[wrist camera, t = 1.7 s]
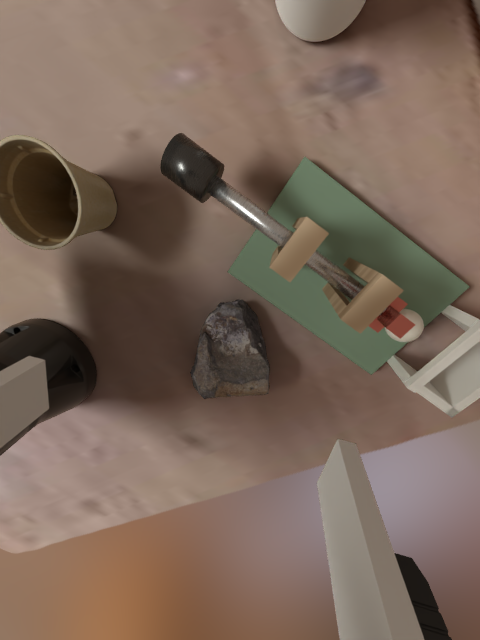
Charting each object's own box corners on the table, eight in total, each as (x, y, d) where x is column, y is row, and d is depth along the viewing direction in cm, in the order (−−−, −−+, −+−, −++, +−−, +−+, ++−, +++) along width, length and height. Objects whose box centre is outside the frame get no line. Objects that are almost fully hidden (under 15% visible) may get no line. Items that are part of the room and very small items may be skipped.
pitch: (229, 269, 32) (227, 271, 31) (303, 159, 27) (304, 156, 26) (367, 368, 34) (371, 374, 33) (460, 283, 29) (469, 286, 28)
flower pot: (133, 167, 30) (79, 146, 22) (129, 250, 33) (81, 259, 25) (56, 150, 30) (-24, 124, 22) (60, 234, 34) (-8, 237, 26)
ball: (372, 322, 30) (384, 334, 27) (396, 298, 29) (412, 308, 26) (396, 339, 31) (410, 354, 27) (421, 316, 29) (439, 329, 26)
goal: (382, 355, 33) (407, 387, 27) (441, 300, 30) (486, 322, 23) (423, 385, 34) (457, 424, 27) (486, 335, 31) (542, 365, 24)
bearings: (272, 253, 29) (269, 267, 20) (297, 218, 28) (306, 216, 18) (335, 299, 30) (360, 333, 21) (363, 268, 28) (403, 290, 19)
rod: (183, 182, 28) (148, 168, 20) (200, 149, 26) (169, 121, 19) (363, 316, 30) (391, 347, 22) (387, 291, 28) (425, 315, 21)
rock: (283, 384, 37) (283, 409, 32) (211, 400, 40) (201, 426, 35) (248, 290, 33) (243, 302, 28) (171, 316, 36) (154, 331, 31)
